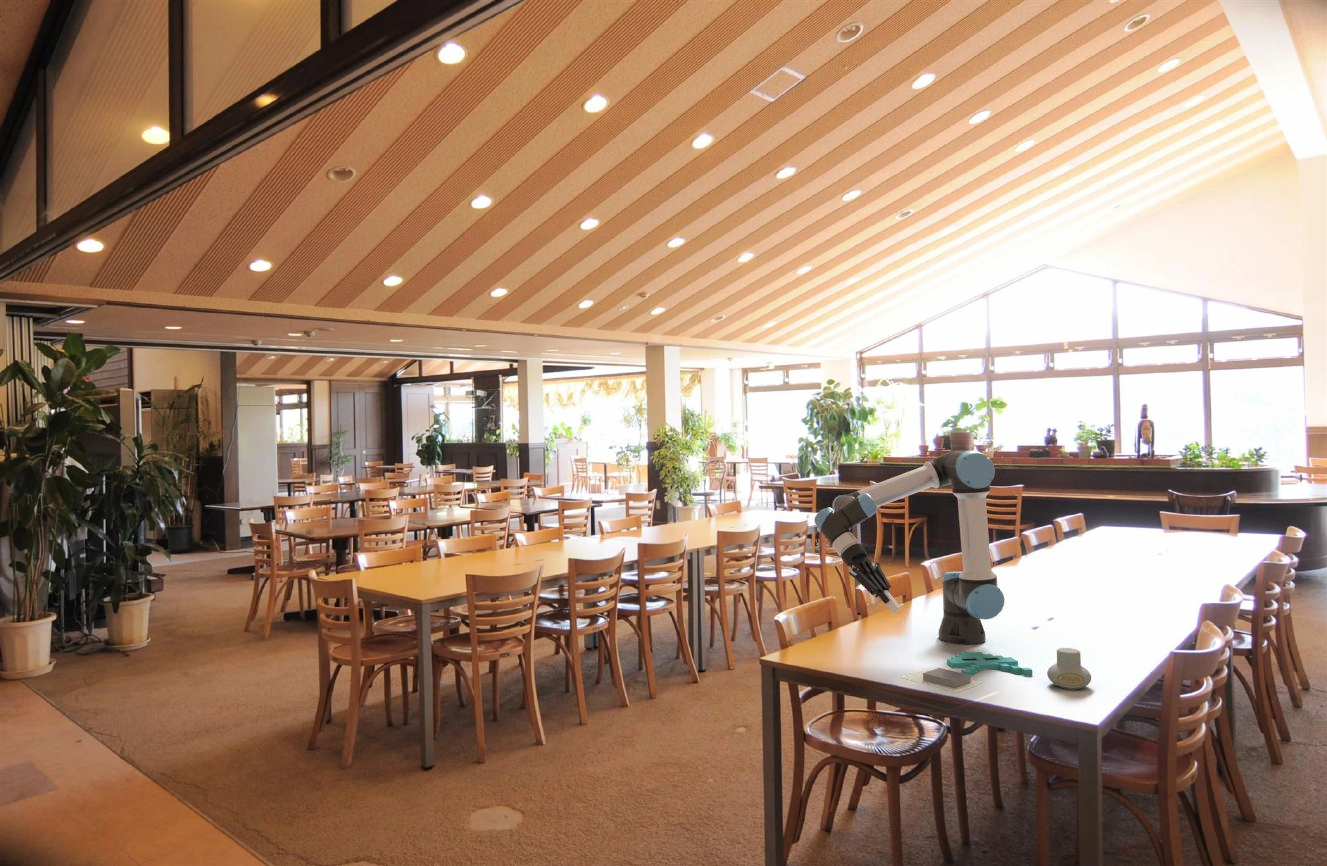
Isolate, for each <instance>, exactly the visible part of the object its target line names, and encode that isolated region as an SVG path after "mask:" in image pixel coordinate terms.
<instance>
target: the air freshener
mask: <svg viewBox="0 0 1327 866" xmlns="http://www.w3.org/2000/svg"><path fill="white" fill-rule="evenodd" d="M1081 657H1082V656H1081V651H1080V650H1078V649H1076V648H1073V647H1071V648H1070V647H1060V648H1057V649H1056V663H1054V664H1052V665H1050V666H1049V668H1048V670H1047V672H1046V675H1047V678H1048V679H1049V681H1050V682H1051V683H1052V684H1054V685H1055V686H1057V687H1060V688H1062V689H1065V690H1070V691H1071V690H1080V689H1082V688H1085V687H1087V686H1088V685H1089V684H1090V683H1091V681H1092V675H1091V673H1090V671H1089V670H1088V669H1087V668H1085V667H1084V666H1083V665H1081V659H1082V658H1081Z"/></svg>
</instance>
